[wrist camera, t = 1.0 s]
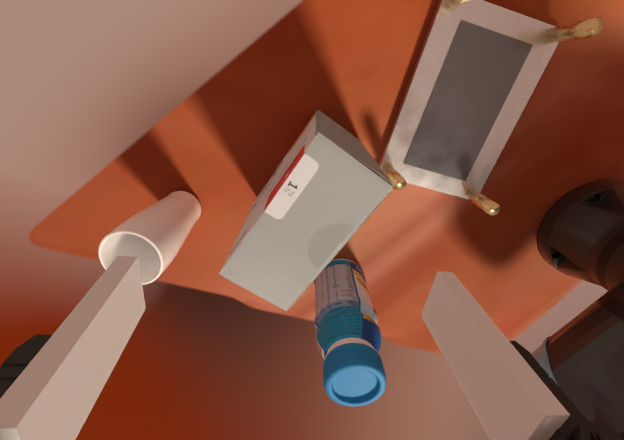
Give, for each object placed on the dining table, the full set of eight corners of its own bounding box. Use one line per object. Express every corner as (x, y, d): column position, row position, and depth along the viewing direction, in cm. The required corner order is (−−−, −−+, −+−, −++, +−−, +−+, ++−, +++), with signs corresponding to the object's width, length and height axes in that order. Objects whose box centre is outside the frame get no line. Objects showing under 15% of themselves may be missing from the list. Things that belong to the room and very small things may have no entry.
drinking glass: (171, 175, 44) (108, 218, 30) (215, 200, 45) (174, 251, 32) (153, 212, 46) (88, 267, 32) (195, 234, 48) (149, 296, 34)
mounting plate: (557, 31, 37) (611, 20, 30) (471, 198, 46) (498, 218, 39) (443, -10, 35) (473, -31, 29) (375, 172, 44) (387, 187, 37)
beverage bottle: (326, 248, 49) (336, 348, 31) (374, 266, 50) (410, 371, 32) (305, 289, 52) (303, 401, 34) (351, 305, 53) (372, 421, 35)
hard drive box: (316, 106, 40) (321, 126, 22) (362, 141, 42) (401, 186, 24) (254, 198, 45) (217, 276, 27) (297, 225, 47) (289, 315, 29)
